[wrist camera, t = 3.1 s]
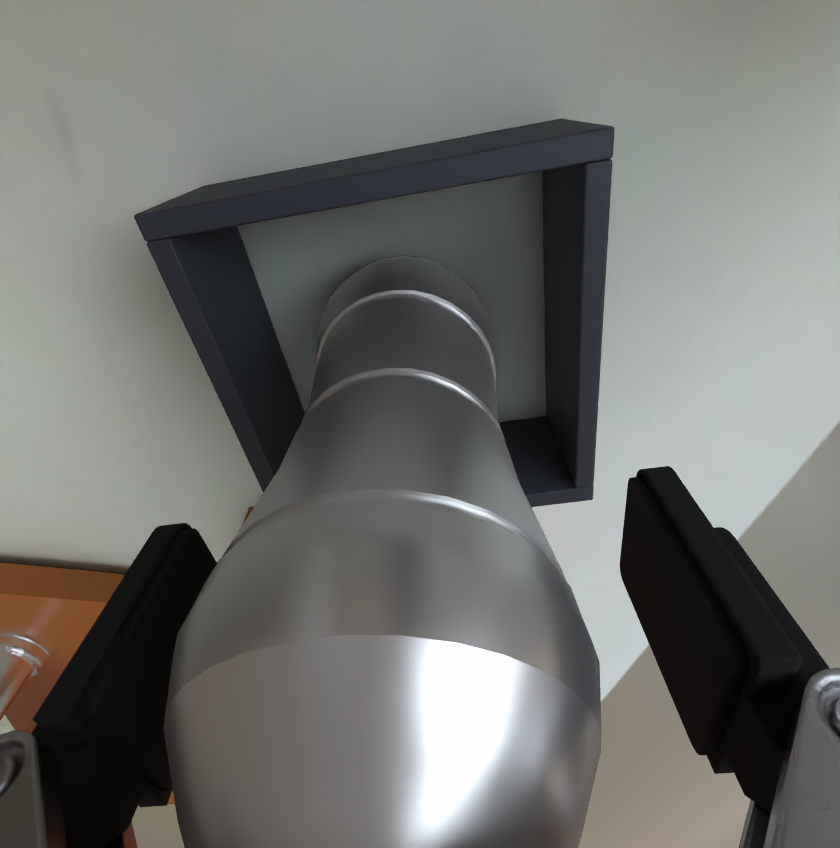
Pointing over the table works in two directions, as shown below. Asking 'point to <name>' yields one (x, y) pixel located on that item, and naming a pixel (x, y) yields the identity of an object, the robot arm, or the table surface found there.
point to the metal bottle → (388, 612)
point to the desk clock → (44, 631)
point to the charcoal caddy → (377, 180)
